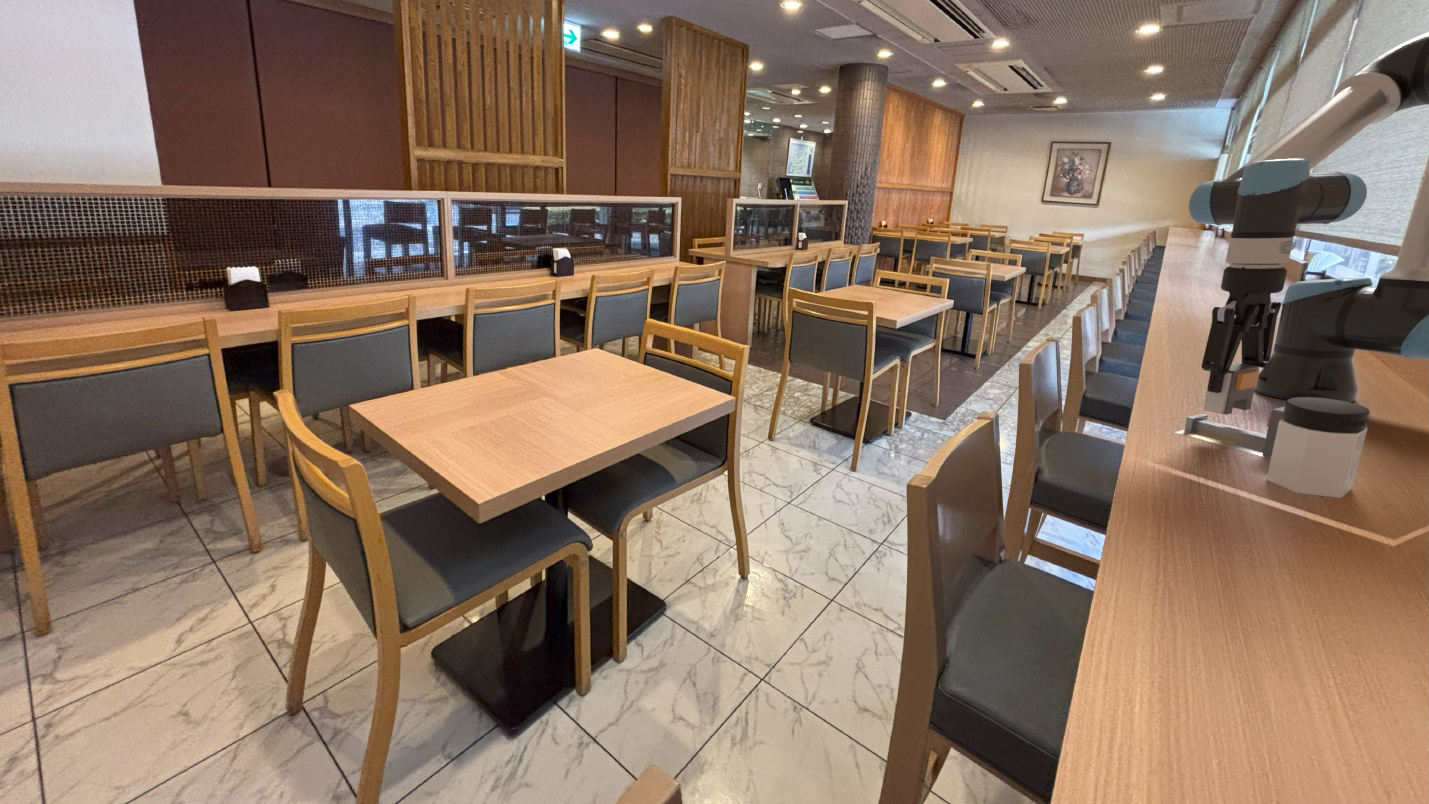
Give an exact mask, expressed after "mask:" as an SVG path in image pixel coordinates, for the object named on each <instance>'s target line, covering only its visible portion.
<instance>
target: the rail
mask: <svg viewBox="0 0 1429 804" xmlns="http://www.w3.org/2000/svg"><path fill="white" fill-rule="evenodd" d="M1208 416H1209V414H1205V413H1199V414H1195V415H1194V414H1193V415H1191V416H1190V415H1189V416H1187V417H1186V421H1185V426H1184V429H1181V430H1179V431H1178V430H1177V431H1174V433H1173V434H1177V435H1180V436H1185V437H1188V438H1192V439H1195V440H1199V441H1203V442H1207V443H1211V444H1214V445H1218V446H1223V447H1226V448H1228V449H1233V450H1236V451H1239V452H1243V453H1247V454H1251V455H1255V456H1259V457H1262V458H1265V459H1269V460H1271V456H1270V455H1266V454H1263V450H1264V445H1265V441H1266V436H1267V433H1261V432H1258V431H1253V430H1249V429H1246V428H1242V427H1237V426H1232V425H1228V424H1224V423H1221V422H1216V421H1212V420H1208Z"/></svg>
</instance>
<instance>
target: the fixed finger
mask: <svg viewBox="0 0 1429 804" xmlns="http://www.w3.org/2000/svg"><path fill="white" fill-rule="evenodd" d="M1284 409H1285V405H1284V406H1281V407H1276V408H1273V409H1270V410H1269V414H1268V417H1267V418H1268V419H1267V423H1266V427H1268V428H1267V431H1266V435H1267V436H1266V441H1265V445H1264V450H1263V454H1266V455H1270V456H1272V451H1273V447H1274V442H1275V438H1276V433H1277V428H1278V424H1279V421H1280V420H1282V419H1283V413H1284Z"/></svg>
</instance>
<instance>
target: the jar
mask: <svg viewBox="0 0 1429 804" xmlns="http://www.w3.org/2000/svg"><path fill="white" fill-rule="evenodd" d="M1284 406H1285V409H1284V413H1283V419H1282V420H1280V421H1279V424H1278V428H1277V433H1276V438H1275V442H1274V447H1273V451H1272V456H1271V459H1269V460H1270V461H1269V466H1268V470H1267V475H1266V481H1268V482H1271V483H1273V484H1276V485H1277V486H1280V487H1282V488H1284V489H1286V490H1290V491H1292V492H1293V493H1295V494H1304V495H1312V496H1321V497H1328V498H1338V499H1341V498H1342V499H1343V497H1344V496H1346V495H1347V494H1348V493H1349V492H1350V491H1352V490H1353V485H1354V482H1355V479H1356V474H1357V471H1358V468H1359V467H1358V466H1359V463H1360V459H1361V456H1362V451H1363V447H1364V444H1365V441H1366V437H1367V436H1366V435H1367V432H1368V427H1367V426H1368V424H1369V421H1370V414H1371V412H1370V409H1369V408H1367V407H1365V406H1364V405H1361V404H1357V403H1354V402H1346V401H1341V400H1334V399H1326V398H1314V397H1298V398H1291V399H1288V400H1286V401H1285V404H1284Z"/></svg>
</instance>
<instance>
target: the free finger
mask: <svg viewBox="0 0 1429 804" xmlns="http://www.w3.org/2000/svg"><path fill="white" fill-rule="evenodd" d="M1258 369H1259V371H1258ZM1260 372H1261V370H1260V367H1259V366H1253V365H1246V364H1242V363H1239V362H1233V363H1232V364H1231V367H1230V369H1229V372H1228V373H1231V374H1232V377H1231V382H1230V387H1229V392H1228V397H1227V402H1226V407H1225V412H1224V413H1220V414H1221V415H1226V416H1227V415H1232V413H1233V409H1237V410H1238V409H1239V410H1242V411H1248V410H1251V409H1252V404H1251V403H1253V399H1254V395H1253V393H1255V390H1254V389H1255V387H1257V382H1258V377H1259V374H1260ZM1252 398H1253V399H1252ZM1207 411H1209V410H1207ZM1209 412H1210V411H1209ZM1211 412H1213V411H1211ZM1213 413H1214V412H1213ZM1215 413H1217V414H1219V413H1218V412H1215Z"/></svg>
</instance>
